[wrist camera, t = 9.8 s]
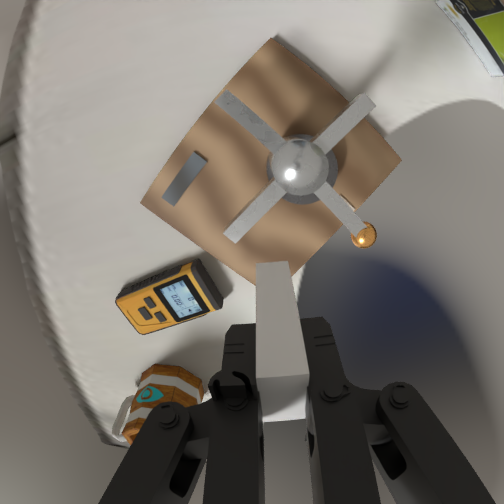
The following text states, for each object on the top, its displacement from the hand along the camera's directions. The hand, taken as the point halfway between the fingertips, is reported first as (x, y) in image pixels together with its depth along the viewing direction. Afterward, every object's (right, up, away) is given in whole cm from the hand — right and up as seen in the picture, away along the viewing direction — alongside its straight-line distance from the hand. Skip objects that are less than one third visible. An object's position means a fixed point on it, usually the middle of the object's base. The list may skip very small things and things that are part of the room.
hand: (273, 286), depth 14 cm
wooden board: (+1, +11, +20) cm, 23 cm away
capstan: (+3, +13, +18) cm, 22 cm away
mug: (-20, -26, +39) cm, 51 cm away
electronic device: (-14, -5, +29) cm, 32 cm away
